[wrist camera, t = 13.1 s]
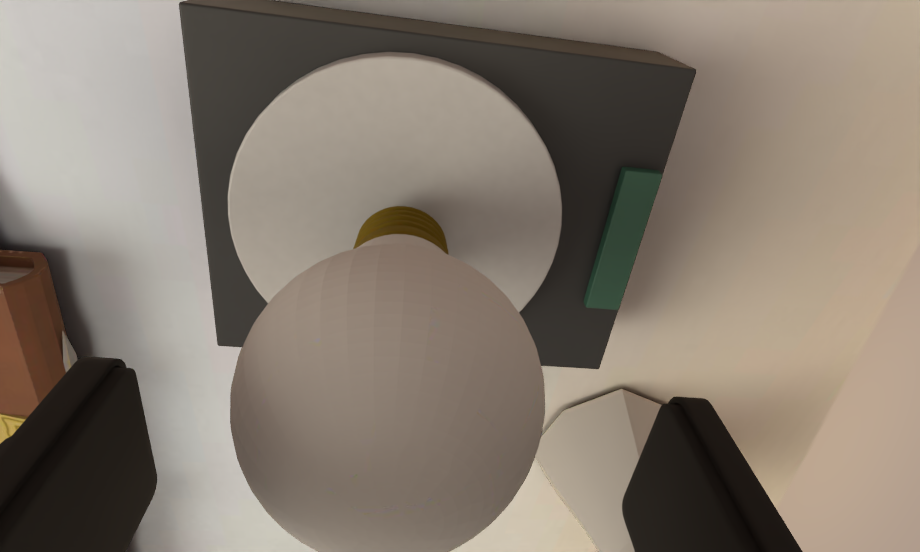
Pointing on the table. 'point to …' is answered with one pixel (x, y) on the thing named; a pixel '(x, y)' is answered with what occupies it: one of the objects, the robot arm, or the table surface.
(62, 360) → the book
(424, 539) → the light bulb
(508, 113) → the scale
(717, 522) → the robot arm
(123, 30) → the table surface
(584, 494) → the flask
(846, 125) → the table surface
